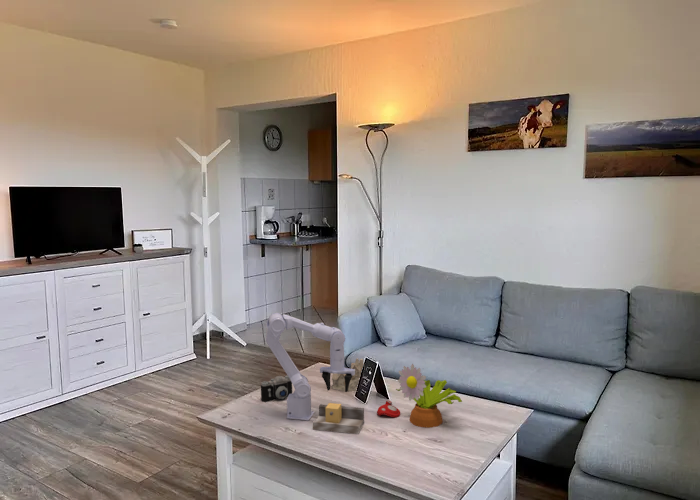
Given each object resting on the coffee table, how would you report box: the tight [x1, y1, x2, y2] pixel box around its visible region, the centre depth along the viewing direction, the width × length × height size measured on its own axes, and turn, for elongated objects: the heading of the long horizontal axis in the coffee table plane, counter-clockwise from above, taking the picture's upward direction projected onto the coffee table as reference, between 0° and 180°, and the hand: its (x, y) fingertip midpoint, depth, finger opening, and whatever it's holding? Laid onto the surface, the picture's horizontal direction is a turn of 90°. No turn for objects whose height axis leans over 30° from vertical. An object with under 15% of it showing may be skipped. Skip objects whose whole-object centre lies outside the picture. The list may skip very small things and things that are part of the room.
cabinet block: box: [325, 402, 342, 423], centre depth 200 cm, size 5×6×6 cm
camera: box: [260, 374, 293, 403], centre depth 229 cm, size 15×7×10 cm, turn 121°
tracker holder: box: [376, 399, 401, 418], centre depth 213 cm, size 12×4×10 cm
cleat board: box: [312, 403, 365, 435], centre depth 201 cm, size 18×10×6 cm, turn 76°
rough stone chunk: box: [331, 357, 365, 393], centre depth 243 cm, size 16×16×15 cm
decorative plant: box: [395, 363, 463, 428], centre depth 204 cm, size 27×24×25 cm
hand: (337, 390), depth 213 cm, fingers open, 7 cm apart
